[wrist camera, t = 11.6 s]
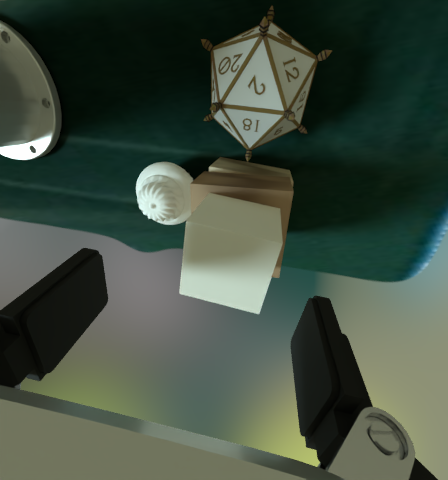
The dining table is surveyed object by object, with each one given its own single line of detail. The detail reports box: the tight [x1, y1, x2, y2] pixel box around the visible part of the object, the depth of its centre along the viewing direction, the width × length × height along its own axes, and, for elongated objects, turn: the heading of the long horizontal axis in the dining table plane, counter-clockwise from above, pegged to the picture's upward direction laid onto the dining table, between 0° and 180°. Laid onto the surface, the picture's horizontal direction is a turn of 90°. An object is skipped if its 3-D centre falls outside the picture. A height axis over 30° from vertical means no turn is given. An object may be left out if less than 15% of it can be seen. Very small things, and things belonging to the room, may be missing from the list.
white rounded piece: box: [136, 162, 193, 225], centre depth 23 cm, size 6×6×7 cm
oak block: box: [209, 157, 294, 187], centre depth 23 cm, size 7×7×5 cm
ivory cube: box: [179, 193, 283, 314], centre depth 15 cm, size 5×5×5 cm
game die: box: [201, 6, 332, 162], centre depth 17 cm, size 9×8×10 cm
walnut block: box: [190, 171, 294, 278], centre depth 19 cm, size 7×7×4 cm
